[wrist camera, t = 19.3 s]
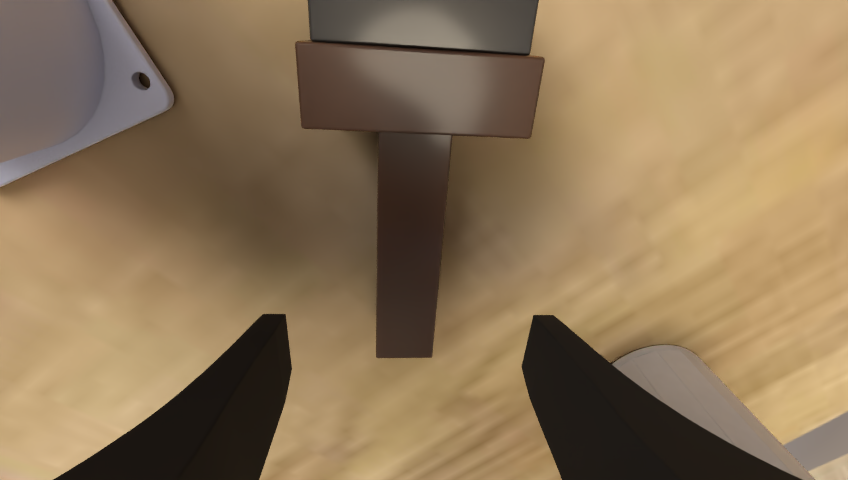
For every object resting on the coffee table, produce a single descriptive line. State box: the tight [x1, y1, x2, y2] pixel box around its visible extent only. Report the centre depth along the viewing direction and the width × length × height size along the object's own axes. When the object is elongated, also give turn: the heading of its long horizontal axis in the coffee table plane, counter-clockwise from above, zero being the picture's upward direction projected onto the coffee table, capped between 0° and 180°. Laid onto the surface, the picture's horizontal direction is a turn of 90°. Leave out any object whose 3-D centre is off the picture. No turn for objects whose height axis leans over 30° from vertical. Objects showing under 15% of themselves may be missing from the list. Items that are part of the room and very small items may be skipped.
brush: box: [295, 0, 545, 358], centre depth 13 cm, size 6×12×4 cm, turn 176°
